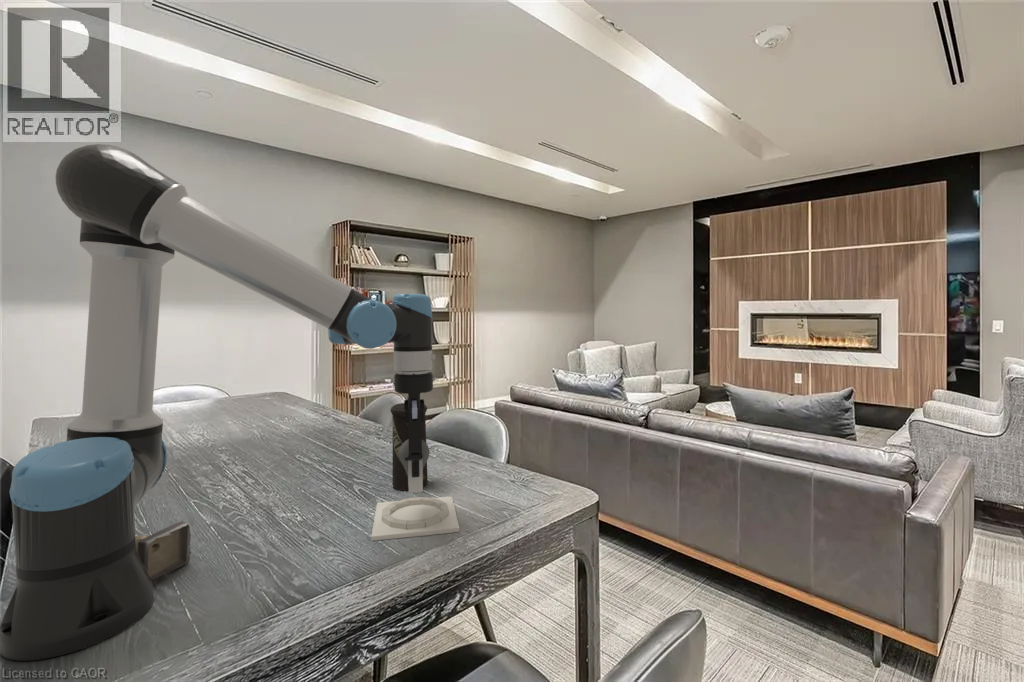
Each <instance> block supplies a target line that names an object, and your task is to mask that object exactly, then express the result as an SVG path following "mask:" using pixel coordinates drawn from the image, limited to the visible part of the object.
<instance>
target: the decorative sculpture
mask: <svg viewBox="0 0 1024 682" xmlns="http://www.w3.org/2000/svg"><path fill="white" fill-rule="evenodd" d="M190 529H191V528H190V524H189V523H188V522H187V521H182V520H181V521H178V522H175V523H173V524H171V525H169V526H168V527H167V526H166V527H165V528H163V529H160V530H159V531H156V532H154V533H152V534H149V535H145V534H143V535H135V540H136V551H137V553H138V555H139V557H140V559H141V561H142V563H143V564H144V566H145V568H146V570H147V572H148V575H149V577H150V578H151V580H153V581H154V580H155V579H157V578H160V577H161V576H164V575H165V574H167V573H170V572H172V571H174V570H176V569H178V568H180V567H182V566H184V565H186V566H187V565H188V564H189V563H190V559H191V553H192V552H191V536H192V535H191V530H190Z"/></svg>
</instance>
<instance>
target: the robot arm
mask: <svg viewBox="0 0 1024 682" xmlns="http://www.w3.org/2000/svg"><path fill="white" fill-rule="evenodd" d="M55 186H56V190H57V194H58V195H59V197H60V198H61V201H62V202H63V203H64V205H65V206H66V207H67V209H68V210H69V211H70V212H72V213H73V214H74V215H75V216H76V217H77V218H79V219H81V220H80V231H79V232H80V233H79V246H80V247H82V249H84V250H85V251H86V252H87V253H88V254H89V256H90V257H91V270H90V271H91V272H90V273H91V274H90V287H89V288H90V289H89V302H88V304H89V305H88V315H87V316H88V317H87V318H88V319H87V332H86V333H87V335H86V350H85V361H84V362H85V363H84V364H85V365H84V376H83V377H84V378H83V379H84V380H83V391H82V392H83V393H82V407H81V408H82V409H81V413H80V414H79V415H78V416H77V417H75V418H74V419H73V420H72V421H70V422H68V424H67V429H66V432H67V433H66V441H61V442H58V443H55V444H54V445H52V446H51V445H49V446H48V445H47V446H44V447H41V448H39V449H35V450H34V451H32V452H30V453H28V454H26V455H25V456H23V457H22V458H20V460H18V461H17V462H16V463H15V465H14V466H13V469H12V472H11V482H10V483H11V484H10V488H9V493H8V494H9V498H10V501H11V510H12V526H13V527H12V528H13V542H14V555H15V557H14V558H15V570H16V571H15V572H16V573H15V574H16V581H15V585H14V588H13V591H12V594H11V596H10V598H9V602H8V604H7V606H6V609H5V612H4V615H3V618H2V620H1V623H0V655H1V656H2V657H3V658H5V659H8V660H11V661H22V662H23V661H26V662H27V661H38V660H45V659H51V658H54V657H59V656H62V655H63V656H65V655H67V654H71V653H73V652H74V653H75V652H76V651H77V652H78V651H80V650H83V649H85V648H88V647H90V646H94V645H95V644H98V643H100V642H102V641H105V640H107V639H109V638H111V637H113V636H115V635H117V634H119V633H121V632H122V631H124V630H126V629H127V628H130V627H131V626H132V625H133V624H135V623H136V622H138V621H139V620H140V619H141V618H142V617H144V616H145V614H147V613H148V612H149V611H150V609H151V608H152V606H153V604H154V601H155V596H154V584H153V581H152V580H151V578H150V577H149V575H148V572H147V570H146V568H145V566H144V564H143V563H142V561H141V559H140V557H139V555H138V553H137V551H136V540H135V536H136V517H135V514H136V513H135V506H136V505H137V504H138V503H139V502H140V501H141V500H142V499H143V498H144V497H145V495H146V494H147V493H149V491H151V490H152V489H153V488H154V486H156V484H157V483H158V482H159V480H160V479H161V478H162V476H163V473H164V472H165V469H166V466H167V460H168V451H167V446H166V444H165V442H164V440H163V430H164V429H163V427H164V421H163V419H162V418H161V416H159V415H158V414H157V413H155V412H154V410H153V408H154V407H153V406H154V405H153V404H154V394H155V393H154V389H155V377H156V363H157V346H158V332H159V321H160V320H159V317H160V305H161V289H162V288H161V287H162V276H163V275H162V274H163V266H164V265H165V264H167V263H168V262H170V261H171V260H172V259H174V258H175V252H177V253H179V254H181V255H183V256H184V257H187V258H189V259H191V260H192V261H194V262H196V263H199V264H200V265H202V266H205V267H206V268H208V269H210V270H213V272H216V273H218V274H220V275H222V276H224V277H226V278H228V279H230V280H232V281H234V282H235V283H237V284H240V285H242V286H244V287H246V288H247V289H250V290H252V291H254V292H255V293H257V294H260V295H261V296H263V297H265V298H267V299H269V300H271V301H273V302H275V303H277V304H278V305H280V306H283V307H284V308H286V309H288V310H291V311H293V312H294V313H297V314H299V315H301V316H302V317H305V318H307V319H309V320H310V321H313V322H315V323H316V324H318V325H320V326H322V327H324V328H326V329H327V334H328V340H329V342H330V343H332V344H335V345H336V344H337V345H354V344H355V345H357V346H358V347H359V346H360V347H362V348H364V349H367V350H368V349H370V350H372V349H376V348H380V347H383V346H386V344H389V343H393V370H394V371H395V372H396V373H395V374H394V379H393V380H394V383H393V384H394V391H395V393H397V394H404V395H405V394H407V395H408V397H407V399H404V400H403V403H404V410H405V412H406V424H407V425H408V434H409V455H408V457H407V458H405V461H408V483H409V490H408V494H414V493H415V494H416V493H423V492H424V489H423V488H424V487H423V468H422V457H423V454H422V427H421V424H422V423H423V421H424V420H423V411H424V408H425V407H424V404H425V399H424V398H423V399H422V398H421V394H422V393H423V394H424V393H429V392H431V391H433V389H434V375H433V373H432V372H430V371H431V370H432V369H433V361H432V360H435V359H436V358H437V357H436V354H433V311H432V308H433V307H432V299H431V298H430V296H429V295H427V294H423V293H396V294H394V295H393V296H392V301H391V303H387V304H386V303H384V302H382V301H380V300H377V299H372V298H370V297H368V296H366V295H365V294H363V293H361V292H360V291H356V290H355V289H354V288H352V287H351V286H349V285H347V284H345V283H343V282H342V281H340V280H338V279H336V278H335V277H333V276H331V275H329V274H328V273H325V272H323V271H322V270H321V269H318V268H316V267H314V266H313V265H311V264H309V263H307V262H306V261H305V260H302V259H301V258H298V257H297V256H295V255H294V254H292V253H289V252H288V251H287V250H284V249H282V248H281V247H279V246H277V245H276V244H273V243H272V242H270V241H268V240H267V239H264V238H263V237H261V236H259V235H257V234H256V233H254V232H252V231H250V230H249V229H247V228H245V227H244V226H242V225H240V224H238V223H236V222H234V221H233V220H231V219H229V218H227V217H226V216H224V215H223V214H222V215H221V214H220V213H218V212H216V211H215V210H213V209H211V208H209V207H208V206H205V204H202V203H200V202H198V201H197V200H195V199H194V198H192V197H190V196H189V195H188V192H187V188H186V187H185V185H183V184H182V183H179V182H178V181H176V180H174V179H173V178H170V177H169V176H168V175H166V174H164V173H163V172H161V171H159V170H158V169H156V167H154V166H152V165H151V164H150V163H148V162H147V161H145V160H144V159H143V158H141V157H140V156H139V155H137V154H135V152H134V153H133V152H132V151H130V150H127V149H125V148H123V147H119V146H116V145H111V144H101V143H100V144H99V143H96V144H87V145H83V146H81V147H78V148H74V149H73V150H72V151H70V152H69V153H68V154H66V155H65V156H64V157H63V158H62V160H61V161H60V162H59V164H58V166H57V168H56V172H55Z"/></svg>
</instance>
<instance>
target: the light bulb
mask: <svg viewBox="0 0 1024 682" xmlns="http://www.w3.org/2000/svg"><path fill="white" fill-rule="evenodd" d="M422 454H423V457H422V468H424V466H425V464H426V462H427V463H428V460H429V458H430V448H429V445H428V444H427V441H426V442H425V441H423V440H422ZM408 455H409V439H408V440H406V441H405V442H404V443H403V444H402V446H401V447H400V450H399V457H400V460H401V462H402V464H403V465H404V467H405V469H406V474H407V476H408V461H405V458H407V457H408ZM408 486H409V483H408Z"/></svg>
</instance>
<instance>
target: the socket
mask: <svg viewBox="0 0 1024 682" xmlns="http://www.w3.org/2000/svg"><path fill="white" fill-rule="evenodd" d="M456 513H457V512H456V509H455V505H454V501H453V497H452V496H442V497H441V496H440V497H427V496H421V497H418V496H417V497H407V498H404V499H400V500H396V501H395V500H394V501H385V502H381V501H380V502H377V503H376V506H375V513H374V520H373V524H372V529H371V536H370V539H371V542H372V541H374V542H375V541H382V540H383V541H384V540H393V539H402V538H413V537H422V536H423V537H424V536H431V535H432V536H433V535H443V534H452V533H454V534H455V533H460V524H459V522H458V517H457V514H456Z"/></svg>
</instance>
